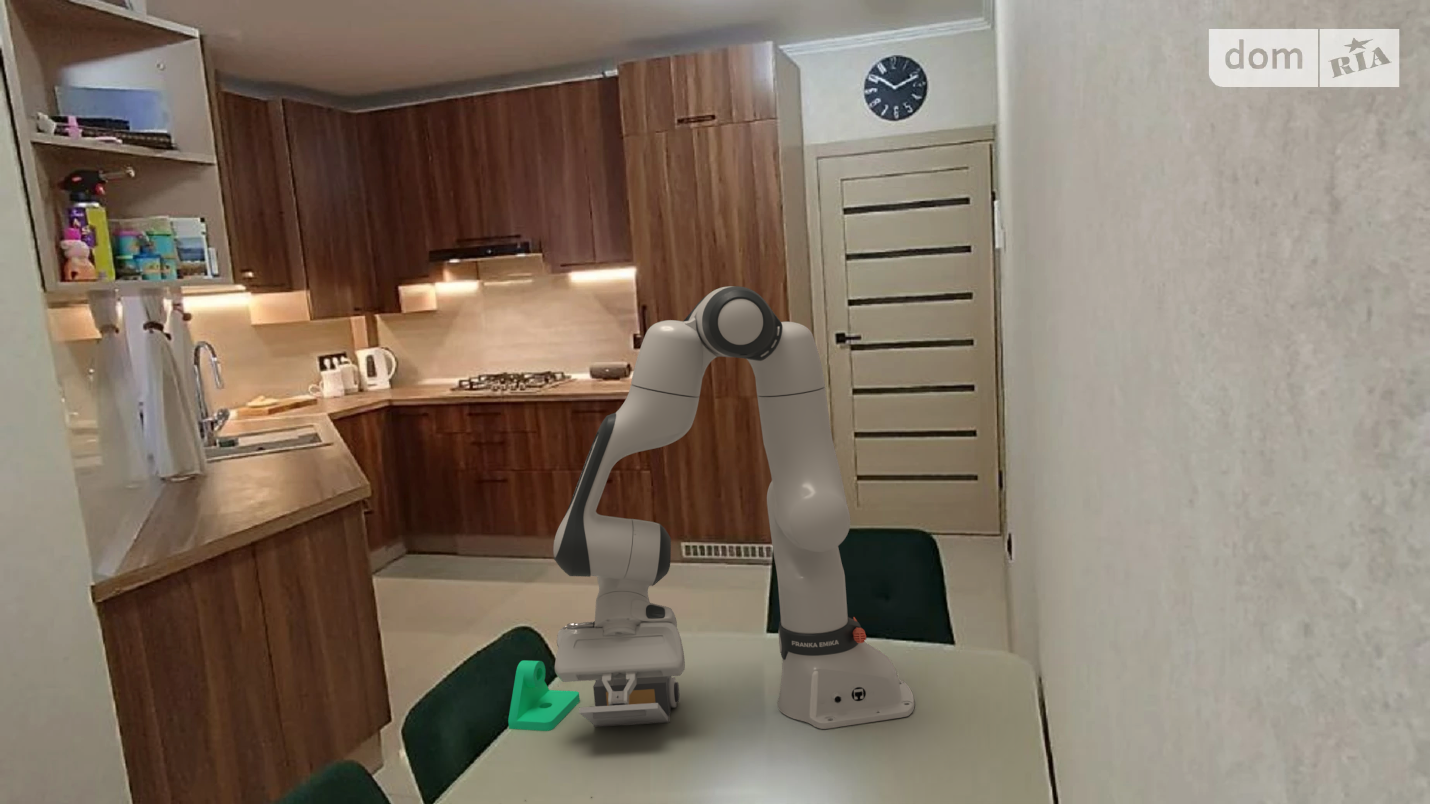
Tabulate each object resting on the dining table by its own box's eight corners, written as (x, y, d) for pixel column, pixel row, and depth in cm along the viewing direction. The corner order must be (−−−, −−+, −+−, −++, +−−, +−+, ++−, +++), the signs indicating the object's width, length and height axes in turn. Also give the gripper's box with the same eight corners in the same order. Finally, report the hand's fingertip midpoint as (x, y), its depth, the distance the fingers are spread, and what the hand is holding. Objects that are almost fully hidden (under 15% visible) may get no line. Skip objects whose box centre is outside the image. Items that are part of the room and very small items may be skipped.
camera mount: (551, 738, 150) (545, 677, 149) (509, 735, 152) (503, 675, 151) (582, 705, 161) (576, 649, 160) (543, 703, 163) (537, 647, 162)
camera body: (681, 701, 159) (678, 662, 158) (677, 722, 151) (674, 682, 150) (605, 706, 160) (601, 667, 159) (597, 727, 152) (593, 687, 151)
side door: (669, 716, 151) (659, 702, 139) (670, 727, 150) (659, 713, 138) (595, 721, 151) (577, 706, 140) (594, 731, 151) (577, 717, 139)
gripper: (554, 615, 147) (546, 700, 138) (681, 608, 146) (681, 693, 137) (562, 632, 152) (555, 715, 143) (686, 625, 151) (686, 708, 142)
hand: (618, 704), depth 140 cm, fingers closed, pressing on side door
